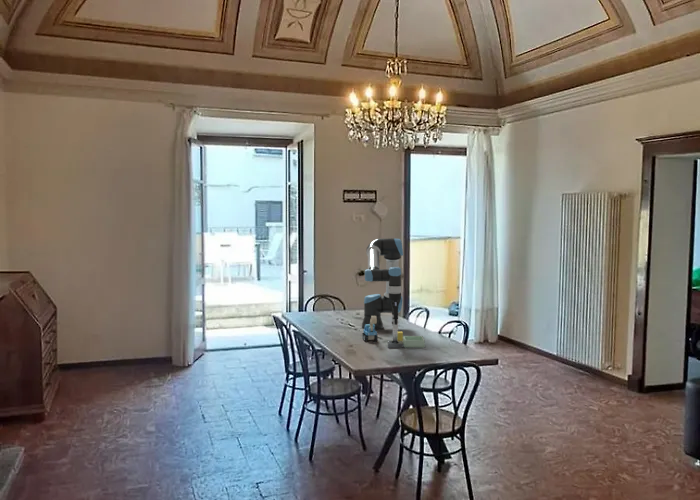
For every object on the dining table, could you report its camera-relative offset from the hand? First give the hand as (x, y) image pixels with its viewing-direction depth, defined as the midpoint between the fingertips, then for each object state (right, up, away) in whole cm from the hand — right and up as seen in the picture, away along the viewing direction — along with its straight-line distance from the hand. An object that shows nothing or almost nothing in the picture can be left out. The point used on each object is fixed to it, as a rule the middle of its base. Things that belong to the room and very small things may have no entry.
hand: (395, 327), depth 361 cm
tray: (+12, -11, +3) cm, 16 cm away
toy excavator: (-14, -11, +16) cm, 24 cm away
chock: (+3, -11, +14) cm, 18 cm away
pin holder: (0, -11, +1) cm, 12 cm away
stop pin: (0, -11, +1) cm, 12 cm away
